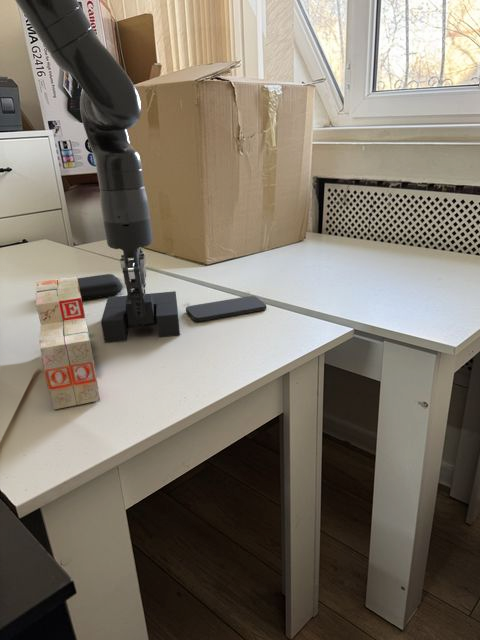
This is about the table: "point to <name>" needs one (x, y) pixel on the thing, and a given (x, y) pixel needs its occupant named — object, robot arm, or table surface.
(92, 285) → the carrying case
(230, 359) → the table surface
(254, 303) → the phone
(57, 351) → the stack of blocks
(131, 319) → the square block
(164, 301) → the notched block
